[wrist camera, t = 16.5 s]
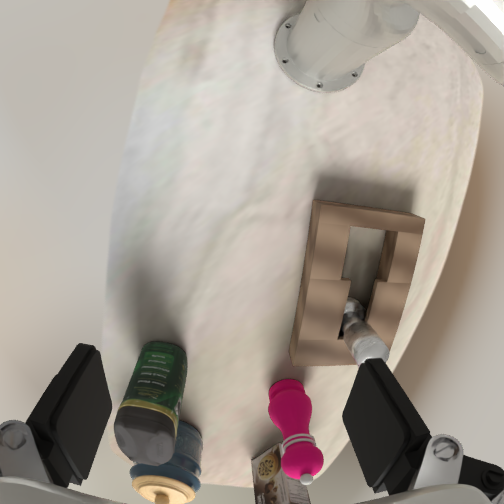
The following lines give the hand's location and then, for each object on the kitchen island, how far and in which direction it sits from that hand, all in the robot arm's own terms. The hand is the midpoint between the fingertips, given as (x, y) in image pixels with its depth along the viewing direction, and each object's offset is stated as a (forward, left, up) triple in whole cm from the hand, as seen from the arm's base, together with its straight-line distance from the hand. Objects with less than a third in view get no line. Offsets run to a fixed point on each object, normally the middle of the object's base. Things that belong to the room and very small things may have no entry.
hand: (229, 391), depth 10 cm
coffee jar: (+25, -9, -32) cm, 42 cm away
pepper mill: (+30, +12, -32) cm, 46 cm away
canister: (+45, -9, -32) cm, 56 cm away
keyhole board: (+9, +19, -32) cm, 38 cm away
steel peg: (+14, +19, -32) cm, 40 cm away
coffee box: (+51, +13, -32) cm, 62 cm away
